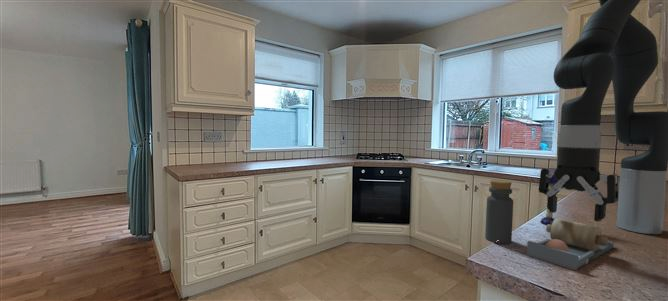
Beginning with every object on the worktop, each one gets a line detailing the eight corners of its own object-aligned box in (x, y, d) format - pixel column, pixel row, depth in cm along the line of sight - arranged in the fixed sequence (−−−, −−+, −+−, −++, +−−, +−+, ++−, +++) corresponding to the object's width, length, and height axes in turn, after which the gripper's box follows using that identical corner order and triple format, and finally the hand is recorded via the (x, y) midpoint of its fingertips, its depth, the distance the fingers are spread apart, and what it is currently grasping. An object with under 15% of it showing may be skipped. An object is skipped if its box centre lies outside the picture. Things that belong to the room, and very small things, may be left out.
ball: (544, 258, 68) (551, 245, 69) (565, 265, 64) (572, 251, 66) (540, 245, 66) (547, 233, 68) (562, 251, 63) (569, 238, 64)
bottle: (488, 234, 82) (490, 178, 81) (513, 239, 78) (516, 181, 77) (482, 240, 77) (485, 181, 76) (508, 246, 73) (511, 184, 72)
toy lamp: (562, 224, 91) (565, 168, 90) (555, 227, 88) (559, 169, 87) (544, 220, 95) (546, 167, 94) (537, 223, 92) (540, 168, 91)
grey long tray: (568, 236, 81) (569, 225, 81) (613, 247, 74) (614, 234, 73) (526, 255, 68) (527, 241, 68) (575, 270, 61) (576, 255, 61)
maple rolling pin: (542, 241, 75) (543, 218, 74) (552, 237, 78) (553, 215, 78) (600, 257, 65) (602, 231, 65) (609, 251, 69) (611, 227, 68)
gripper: (625, 146, 66) (620, 221, 67) (549, 144, 77) (546, 207, 78) (614, 147, 61) (609, 227, 62) (536, 144, 73) (532, 211, 74)
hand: (574, 216), depth 70 cm, fingers open, 8 cm apart
